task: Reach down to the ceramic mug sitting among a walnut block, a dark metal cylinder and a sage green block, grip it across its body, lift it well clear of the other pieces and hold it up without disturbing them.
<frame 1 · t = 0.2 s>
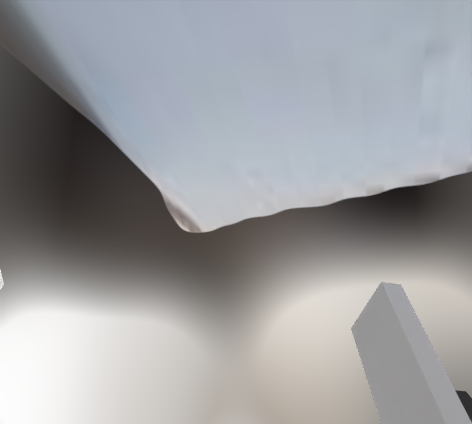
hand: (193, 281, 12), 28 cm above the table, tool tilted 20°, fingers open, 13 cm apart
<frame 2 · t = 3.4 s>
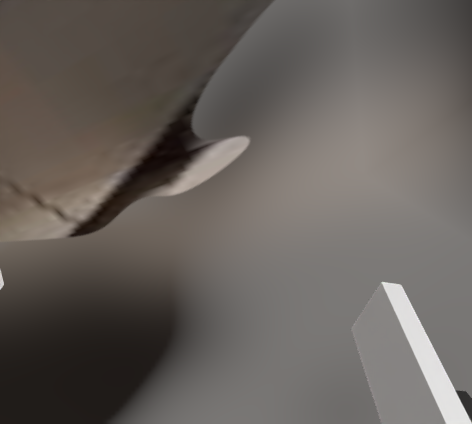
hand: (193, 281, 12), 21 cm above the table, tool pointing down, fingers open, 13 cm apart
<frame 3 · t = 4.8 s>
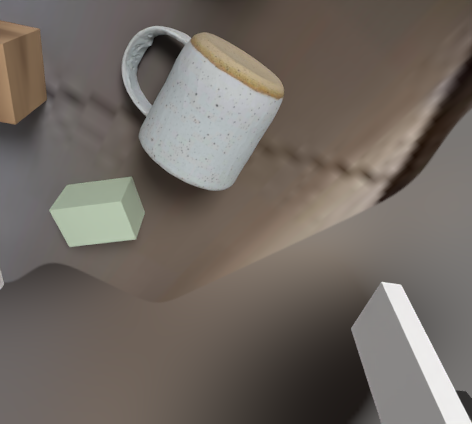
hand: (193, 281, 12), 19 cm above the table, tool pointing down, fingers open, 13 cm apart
sage green block: (107, 198, 33), on the table
walnut block: (7, 58, 26), on the table
ceramic mug: (197, 88, 27), on the table
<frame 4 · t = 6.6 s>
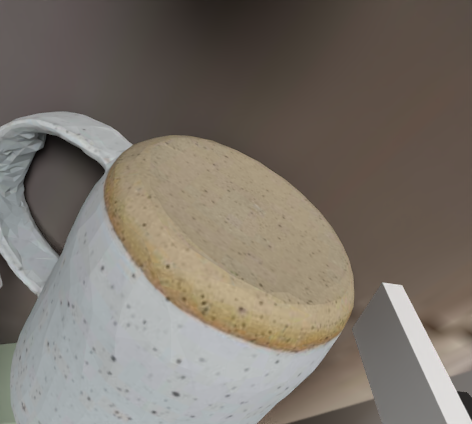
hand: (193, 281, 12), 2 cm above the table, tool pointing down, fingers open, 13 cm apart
sage green block: (22, 363, 19), on the table
ceramic mug: (158, 213, 14), on the table, touching gripper
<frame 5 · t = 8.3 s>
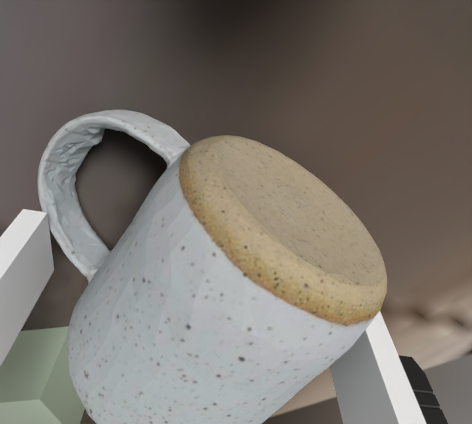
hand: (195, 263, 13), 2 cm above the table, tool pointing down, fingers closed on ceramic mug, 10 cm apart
sage green block: (36, 350, 21), on the table
ceramic mug: (194, 207, 15), on the table, touching gripper
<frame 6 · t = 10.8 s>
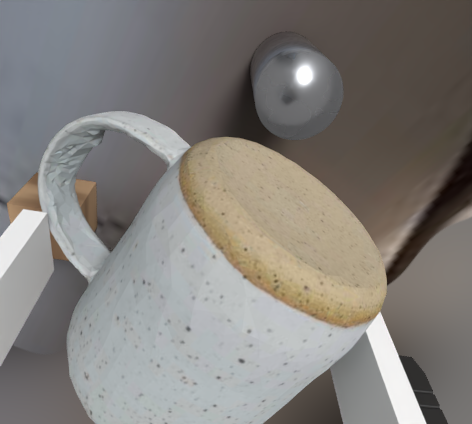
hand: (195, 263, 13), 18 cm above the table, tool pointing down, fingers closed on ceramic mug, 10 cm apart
dark metal cylinder: (284, 69, 26), on the table
walnut block: (68, 200, 32), on the table
ceramic mug: (194, 208, 15), point 15 cm above the table, touching gripper
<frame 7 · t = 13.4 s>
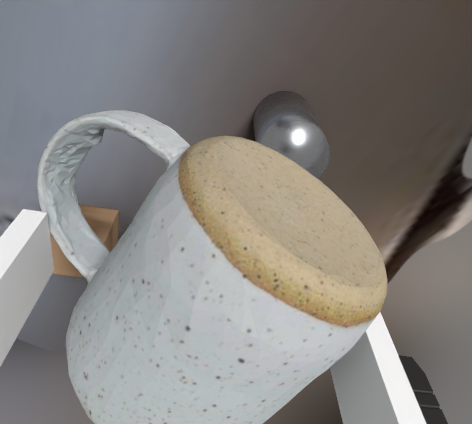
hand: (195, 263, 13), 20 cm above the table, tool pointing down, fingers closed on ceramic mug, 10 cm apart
dark metal cylinder: (282, 120, 31), on the table
walnut block: (94, 225, 37), on the table
ceramic mug: (194, 207, 15), point 17 cm above the table, touching gripper
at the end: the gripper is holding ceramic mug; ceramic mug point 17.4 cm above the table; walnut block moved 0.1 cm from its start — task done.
